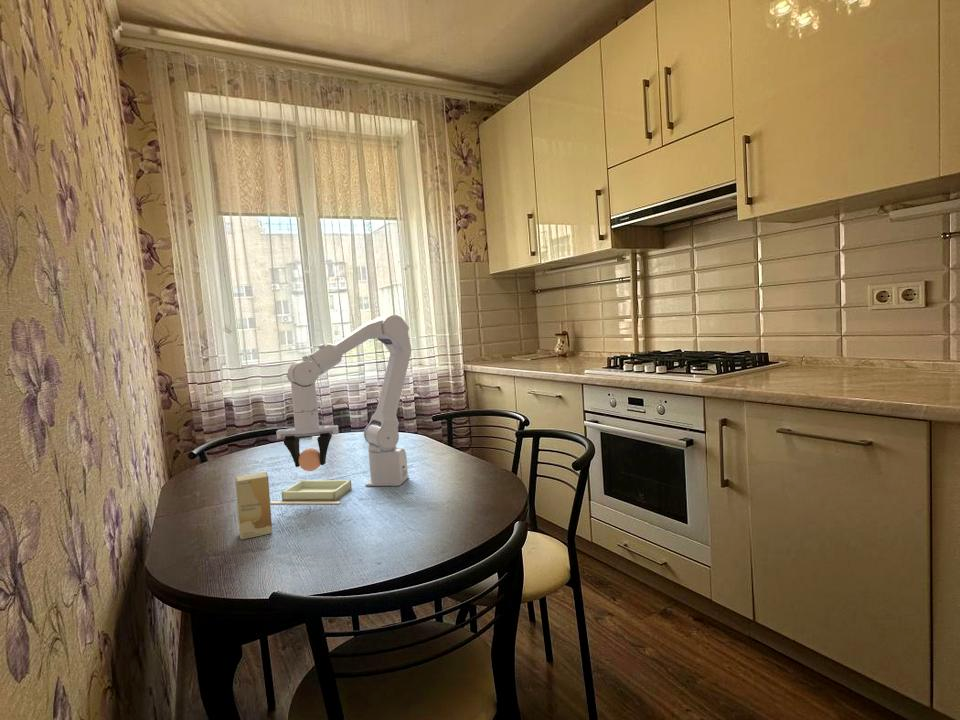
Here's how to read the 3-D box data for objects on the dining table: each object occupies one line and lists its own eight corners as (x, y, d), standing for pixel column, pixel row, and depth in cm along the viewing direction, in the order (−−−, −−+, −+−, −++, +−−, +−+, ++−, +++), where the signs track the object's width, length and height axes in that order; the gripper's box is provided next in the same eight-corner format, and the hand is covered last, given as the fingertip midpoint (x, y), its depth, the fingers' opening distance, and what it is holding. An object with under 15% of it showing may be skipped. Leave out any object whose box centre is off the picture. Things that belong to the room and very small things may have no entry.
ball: (327, 468, 136) (325, 446, 136) (311, 474, 131) (309, 452, 131) (310, 466, 138) (308, 445, 138) (294, 473, 133) (292, 450, 133)
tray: (351, 488, 141) (350, 480, 141) (335, 500, 132) (334, 492, 132) (301, 488, 144) (301, 480, 144) (282, 500, 135) (281, 492, 134)
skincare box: (240, 540, 111) (234, 481, 110) (239, 533, 114) (233, 476, 113) (274, 533, 113) (268, 475, 113) (271, 526, 117) (266, 470, 116)
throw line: (340, 502, 130) (340, 501, 130) (338, 504, 129) (338, 502, 129) (272, 502, 134) (271, 501, 134) (269, 504, 133) (269, 502, 133)
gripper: (339, 405, 138) (343, 458, 139) (280, 409, 137) (285, 463, 138) (332, 410, 131) (337, 465, 132) (271, 414, 130) (276, 470, 131)
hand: (310, 465), depth 135 cm, fingers closed on ball, 5 cm apart
